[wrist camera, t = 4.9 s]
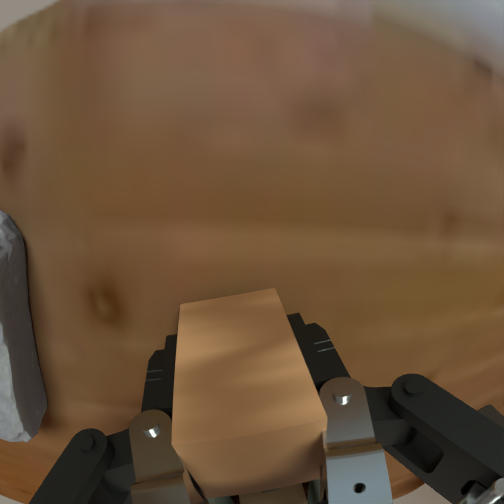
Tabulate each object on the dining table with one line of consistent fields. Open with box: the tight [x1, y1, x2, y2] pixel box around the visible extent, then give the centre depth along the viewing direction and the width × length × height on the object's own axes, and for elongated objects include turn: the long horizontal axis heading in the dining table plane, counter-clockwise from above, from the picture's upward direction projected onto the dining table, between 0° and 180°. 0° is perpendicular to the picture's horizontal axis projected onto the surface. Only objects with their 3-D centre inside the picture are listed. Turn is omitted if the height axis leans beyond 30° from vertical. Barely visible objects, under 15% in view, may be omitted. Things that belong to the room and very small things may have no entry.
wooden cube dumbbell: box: [171, 288, 327, 504], centre depth 13 cm, size 4×21×6 cm, turn 8°
